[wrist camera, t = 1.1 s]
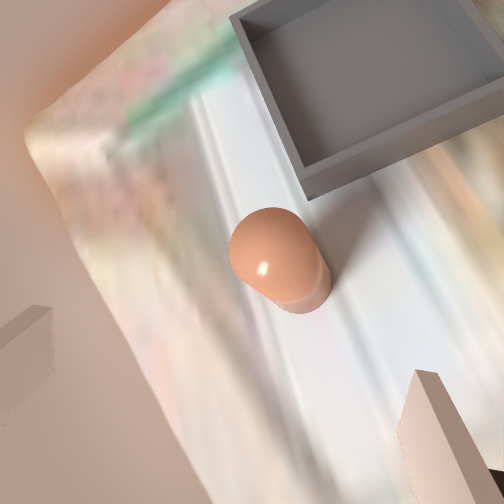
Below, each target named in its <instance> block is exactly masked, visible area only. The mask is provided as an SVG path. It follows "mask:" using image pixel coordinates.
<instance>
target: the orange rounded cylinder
mask: <svg viewBox="0 0 504 504" xmlns="http://www.w3.org/2000/svg"><path fill="white" fill-rule="evenodd" d="M229 259H230V263H231V266H232V268H233V270H234V272H235V273H236V274H237V276H238V277H239V278H240V279H241V280H243V281H244V282H245V283H247V284H248V285H250V286H251V287H252V288H254V289H255V290H257V291H258V292H259V293H261V294H262V295H264V296H265V297H267V298H268V299H269V300H271V301H272V302H274V303H275V304H276V305H278V306H279V307H281V308H282V309H284V310H285V311H288V312H290V313H295V314H304V313H308V312H311V311H313V310H315V309H317V308H318V307H320V306H321V305H322V304H323V303H324V302H325V300H326V299H327V297H328V295H329V293H330V290H331V286H332V277H331V273H330V270H329V268H328V266H327V264H326V262H325V261H324V259H323V257H322V255H321V253H320V251H319V250H318V248H317V246H316V244H315V242H314V240H313V239H312V237H311V235H310V233H309V231H308V229H307V228H306V226H305V224H304V223H303V221H302V220H301V219H300V218H299V217H298V216H297V215H295V214H294V213H292V212H290V211H288V210H286V209H282V208H264V209H260V210H258V211H255V212H253V213H251V214H250V215H248V216H247V217H245V218H244V219H243V220H242V221H241V222H240V223H239V224H238V226H237V227H236V229H235V230H234V232H233V234H232V237H231V239H230V243H229Z"/></svg>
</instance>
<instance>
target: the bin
mask: <svg viewBox="0 0 504 504" xmlns="http://www.w3.org/2000/svg"><path fill="white" fill-rule="evenodd" d="M229 19H230V21H231V23H232V26H233V28H234V30H235V33H236V35H237V37H238V40H239V42H240V44H241V47H242V49H243V51H244V54H245V56H246V58H247V61H248V63H249V65H250V68H251V70H252V72H253V75H254V77H255V79H256V82H257V84H258V86H259V89H260V91H261V94H262V96H263V98H264V101H265V103H266V105H267V108H268V110H269V112H270V115H271V117H272V119H273V122H274V124H275V126H276V129H277V131H278V133H279V136H280V138H281V140H282V143H283V145H284V147H285V150H286V152H287V154H288V157H289V159H290V161H291V164H292V166H293V168H294V171H295V173H296V175H297V178H298V180H299V182H300V184H301V187H302V189H303V191H304V193H305V195H306V197H307V200H308V201H310V200H312V199H314V198H317V197H319V196H321V195H323V194H326V193H328V192H330V191H332V190H334V189H337V188H339V187H341V186H343V185H346V184H348V183H350V182H352V181H355V180H357V179H359V178H361V177H364V176H366V175H368V174H370V173H373V172H375V171H377V170H379V169H382V168H384V167H386V166H388V165H391V164H393V163H395V162H397V161H400V160H402V159H404V158H406V157H409V156H411V155H413V154H415V153H418V152H420V151H422V150H424V149H427V148H429V147H431V146H433V145H436V144H438V143H440V142H442V141H444V140H447V139H449V138H451V137H453V136H456V135H458V134H460V133H462V132H465V131H467V130H469V129H471V128H474V127H476V126H478V125H480V124H483V123H485V122H487V121H489V120H492V119H494V118H496V117H498V116H501V115H503V114H504V42H503V41H502V39H501V38H500V37H499V36H498V34H497V33H496V32H495V30H494V29H493V28H492V26H491V25H490V24H489V23H488V21H487V20H486V19H485V17H484V16H483V15H482V14H481V12H480V11H479V10H478V8H477V7H476V6H475V4H474V3H473V2H472V1H471V0H259V1H257V2H255V3H253V4H251V5H250V6H248V7H246V8H244V9H242V10H241V11H239V12H237V13H235V14H233V15H231V16H230V17H229Z"/></svg>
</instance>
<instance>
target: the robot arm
mask: <svg viewBox="0 0 504 504" xmlns="http://www.w3.org/2000/svg"><path fill="white" fill-rule="evenodd" d="M53 341H54V340H53V308H50V307H44V306H39V305H31V306H30V307H29V308H27V309H26V310H24V311H23V312H22V313H20V314H19V315H18V316H16V317H15V318H14V319H12V320H11V321H9V322H8V323H7V324H5V325H4V326H3V327H1V328H0V430H1V429H2V427H3V426H4V425H5V424H6V423H7V422H8V421H9V420H10V419H11V418H12V417H13V416H14V415H15V413H16V412H17V411H18V410H19V409H20V408H21V407H22V406H23V405H24V404H25V403H26V402H27V401H28V399H29V398H30V397H31V396H32V395H33V394H34V393H35V392H36V391H37V390H38V389H39V388H40V387H41V386H42V384H43V383H44V382H45V381H46V380H47V379H48V378H49V377H50V376H51V375H52V374H53V373H54V342H53ZM396 434H397V438H398V441H399V444H400V447H401V451H402V454H403V457H404V460H405V464H406V467H407V470H408V474H409V477H410V480H411V483H412V487H413V490H414V493H415V496H416V500H417V503H418V504H504V472H503V471H498V470H492V469H488V468H487V466H486V464H485V462H484V460H483V458H482V456H481V455H480V453H479V451H478V449H477V447H476V445H475V443H474V441H473V440H472V438H471V436H470V434H469V432H468V430H467V428H466V426H465V424H464V423H463V421H462V419H461V417H460V415H459V413H458V411H457V409H456V408H455V406H454V404H453V402H452V400H451V398H450V396H449V394H448V392H447V391H446V389H445V387H444V385H443V383H442V381H441V379H440V377H439V376H438V374H437V373H434V372H428V371H422V370H416V369H415V371H414V374H413V378H412V381H411V384H410V387H409V391H408V394H407V397H406V401H405V404H404V407H403V411H402V414H401V417H400V421H399V424H398V427H397V431H396Z"/></svg>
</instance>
